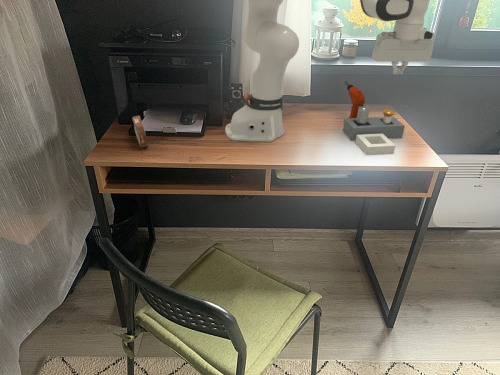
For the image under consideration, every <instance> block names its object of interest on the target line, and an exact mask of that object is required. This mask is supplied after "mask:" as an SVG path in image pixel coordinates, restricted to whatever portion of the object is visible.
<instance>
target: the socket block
mask: <svg viewBox="0 0 500 375" xmlns="http://www.w3.org/2000/svg"><path fill="white" fill-rule="evenodd" d="M383 118H384V116H378V117H377V116H376V117H368V121H367V125H366V126H357V125H356V120H357V118H344V120H343V127H342V132H343V133H344V134H345V136H346V137H347V138H348V139H349V140H350V141H351V142H352V141H356V136H357V135H363V134H384V135H385V136H386V137H387V138H388V139H389V140H390V139H391V140H393V139H394V140H395V139H403V135H404V131H405V127H406V125H404V124H403V123H402V122H401V121H399V119H397V118H396V117H395V116H392V118H391V123H390V124H389V125H386V124H384V123H383Z"/></svg>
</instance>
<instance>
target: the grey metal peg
mask: <svg viewBox="0 0 500 375" xmlns="http://www.w3.org/2000/svg"><path fill="white" fill-rule="evenodd" d="M370 110H371V107H370V106H369V105H365V104H364V105H361V106H359V109H358V114H357V120H356V125H357V126H366V125H367V121H368V118H369V115H370Z"/></svg>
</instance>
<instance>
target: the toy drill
mask: <svg viewBox="0 0 500 375" xmlns="http://www.w3.org/2000/svg"><path fill="white" fill-rule="evenodd" d="M344 83H345V85H346V86H347V88H346V90H347V91H348V96H349V97H350V101H351V103H352V106H351V109H350V114H349V118H357V114H358V109H359V106H361V105H365V101H366V97H365V96H364V94H363V92H362V91H361V90H360V89H359V88H358V87H356V86H354V85H353V84H350V83H349V82H348V81H347V80H345V81H344Z"/></svg>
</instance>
